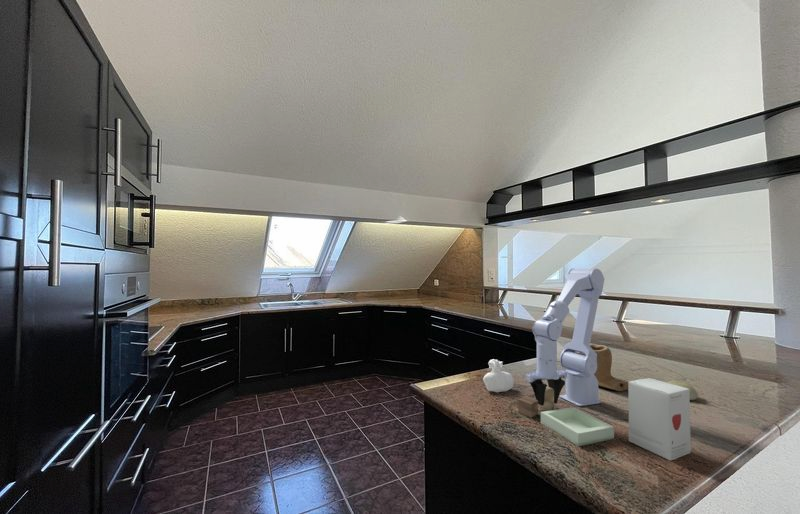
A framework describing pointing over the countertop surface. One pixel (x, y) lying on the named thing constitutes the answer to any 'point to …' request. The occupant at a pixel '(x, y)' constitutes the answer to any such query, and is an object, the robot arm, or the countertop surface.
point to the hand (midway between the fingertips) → (546, 403)
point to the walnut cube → (528, 406)
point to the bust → (497, 378)
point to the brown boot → (606, 369)
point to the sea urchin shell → (692, 391)
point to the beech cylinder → (548, 400)
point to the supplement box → (659, 417)
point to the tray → (577, 426)
